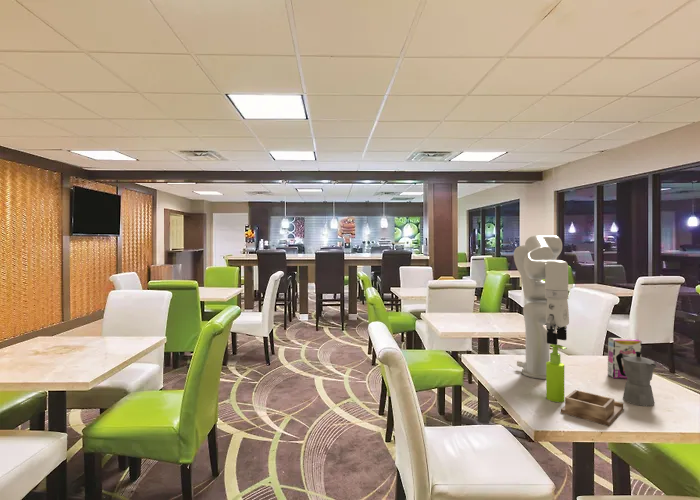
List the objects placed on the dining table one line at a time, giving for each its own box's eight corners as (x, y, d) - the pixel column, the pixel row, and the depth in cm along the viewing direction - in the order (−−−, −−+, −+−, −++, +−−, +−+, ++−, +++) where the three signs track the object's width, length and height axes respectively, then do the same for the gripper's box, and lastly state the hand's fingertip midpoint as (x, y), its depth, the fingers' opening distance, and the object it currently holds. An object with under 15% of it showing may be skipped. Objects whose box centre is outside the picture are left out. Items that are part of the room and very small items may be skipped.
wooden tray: (560, 412, 132) (560, 397, 132) (578, 398, 144) (578, 384, 144) (609, 426, 122) (609, 409, 122) (623, 409, 134) (623, 394, 134)
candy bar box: (613, 379, 165) (613, 340, 165) (607, 375, 170) (607, 337, 170) (642, 379, 164) (642, 340, 164) (634, 375, 169) (634, 337, 169)
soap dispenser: (560, 404, 139) (560, 348, 139) (542, 397, 145) (542, 343, 145) (570, 401, 141) (570, 346, 141) (553, 395, 148) (553, 342, 147)
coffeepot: (667, 407, 136) (667, 355, 136) (645, 410, 134) (645, 357, 134) (626, 391, 151) (626, 344, 151) (606, 393, 149) (606, 346, 149)
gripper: (559, 297, 134) (559, 347, 134) (575, 293, 146) (576, 339, 146) (536, 295, 140) (536, 343, 139) (554, 292, 151) (554, 336, 151)
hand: (556, 341), depth 143 cm, fingers open, 9 cm apart
